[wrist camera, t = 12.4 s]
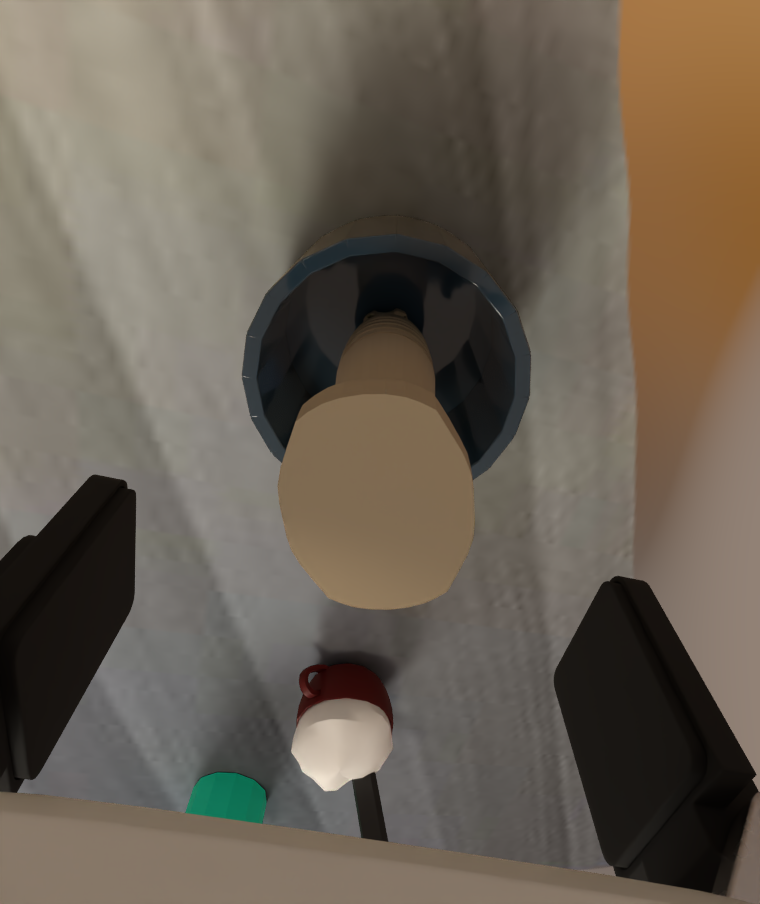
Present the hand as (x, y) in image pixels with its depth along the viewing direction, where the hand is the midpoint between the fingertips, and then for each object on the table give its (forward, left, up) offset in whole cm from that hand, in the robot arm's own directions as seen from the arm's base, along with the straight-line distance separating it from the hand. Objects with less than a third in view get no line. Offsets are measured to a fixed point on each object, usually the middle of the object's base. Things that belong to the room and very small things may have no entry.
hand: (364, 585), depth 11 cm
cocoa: (+25, +3, -19) cm, 32 cm away
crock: (0, 0, -19) cm, 19 cm away
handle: (0, 0, -18) cm, 18 cm away
